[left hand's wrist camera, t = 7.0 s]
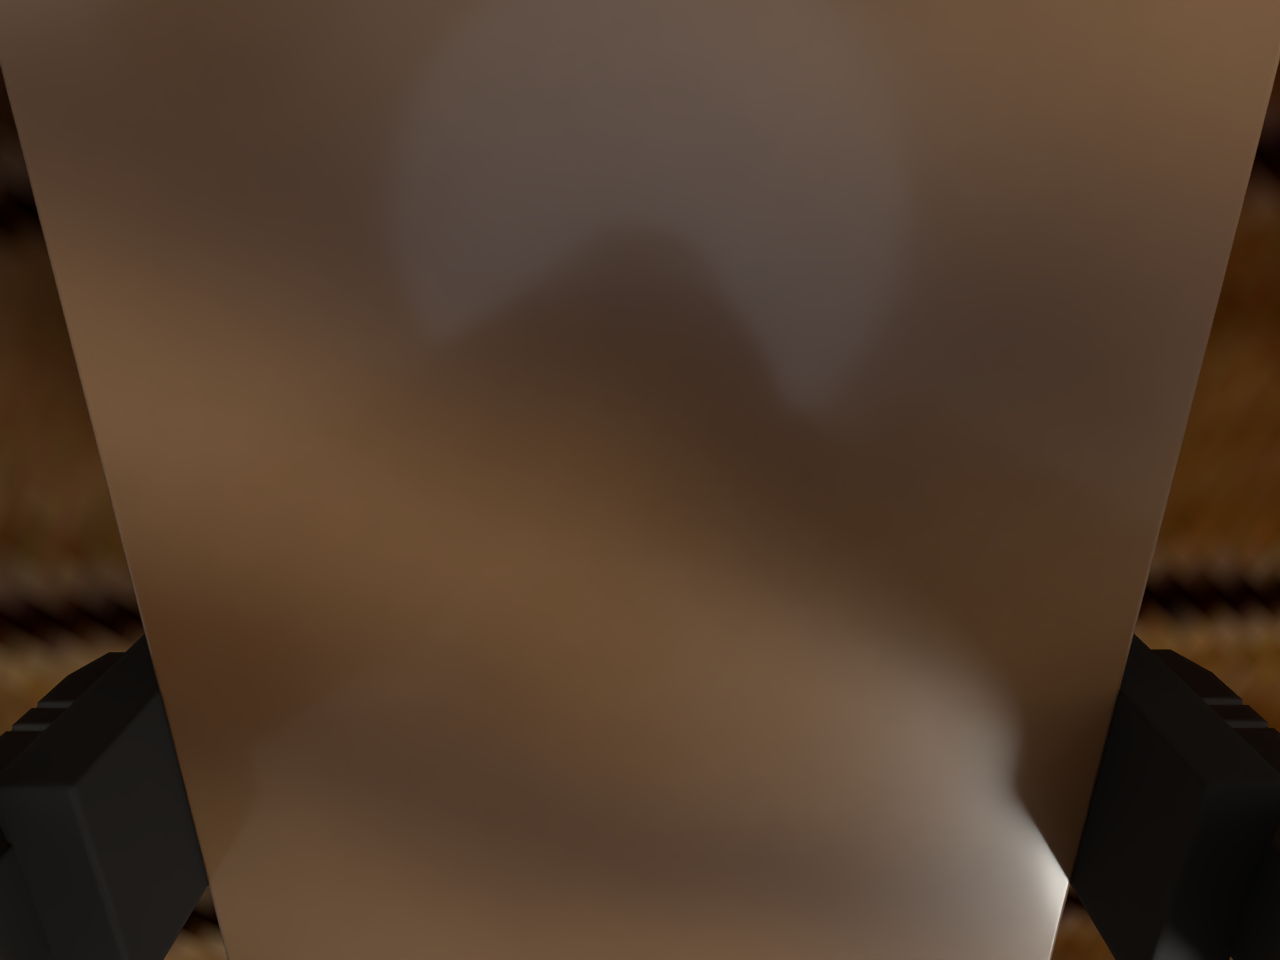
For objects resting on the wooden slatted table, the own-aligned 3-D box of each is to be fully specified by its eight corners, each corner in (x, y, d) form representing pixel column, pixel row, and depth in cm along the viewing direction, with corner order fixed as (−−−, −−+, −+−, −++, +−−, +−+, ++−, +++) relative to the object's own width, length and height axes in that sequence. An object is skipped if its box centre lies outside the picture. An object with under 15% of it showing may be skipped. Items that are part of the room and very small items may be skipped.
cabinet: (264, -537, 11) (-546, -2042, 3) (1013, -537, 11) (1820, -2042, 3) (407, 647, 18) (236, 1005, 10) (871, 647, 18) (1041, 1005, 10)
